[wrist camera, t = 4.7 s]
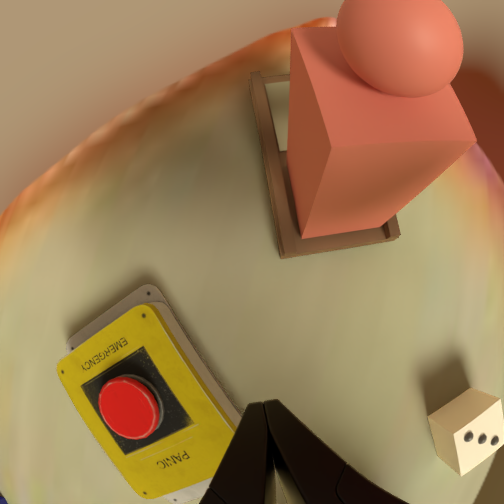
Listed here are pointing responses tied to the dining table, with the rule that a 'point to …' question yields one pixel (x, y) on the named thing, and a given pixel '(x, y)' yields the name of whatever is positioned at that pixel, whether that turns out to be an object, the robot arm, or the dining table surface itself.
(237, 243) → the dining table surface
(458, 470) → the die
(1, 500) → the cereal box
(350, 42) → the pawn
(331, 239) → the track
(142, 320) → the emergency button
